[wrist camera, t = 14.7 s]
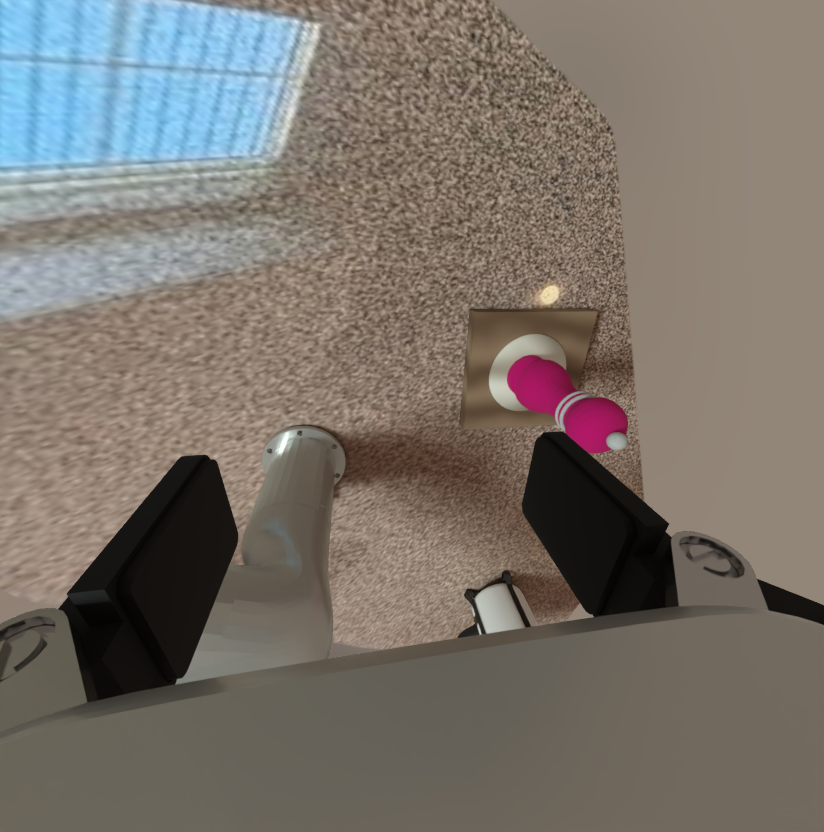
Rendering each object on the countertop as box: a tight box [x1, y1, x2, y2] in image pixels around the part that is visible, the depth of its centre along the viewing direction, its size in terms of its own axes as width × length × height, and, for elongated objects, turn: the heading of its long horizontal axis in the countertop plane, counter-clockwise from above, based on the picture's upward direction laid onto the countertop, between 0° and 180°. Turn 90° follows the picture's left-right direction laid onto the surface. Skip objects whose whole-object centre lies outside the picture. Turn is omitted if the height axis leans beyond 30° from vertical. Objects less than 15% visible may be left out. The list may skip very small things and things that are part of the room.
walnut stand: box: [459, 309, 598, 430], centre depth 50 cm, size 18×18×3 cm
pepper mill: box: [507, 355, 628, 453], centre depth 40 cm, size 7×7×20 cm
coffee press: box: [458, 572, 538, 638], centre depth 63 cm, size 17×16×30 cm
